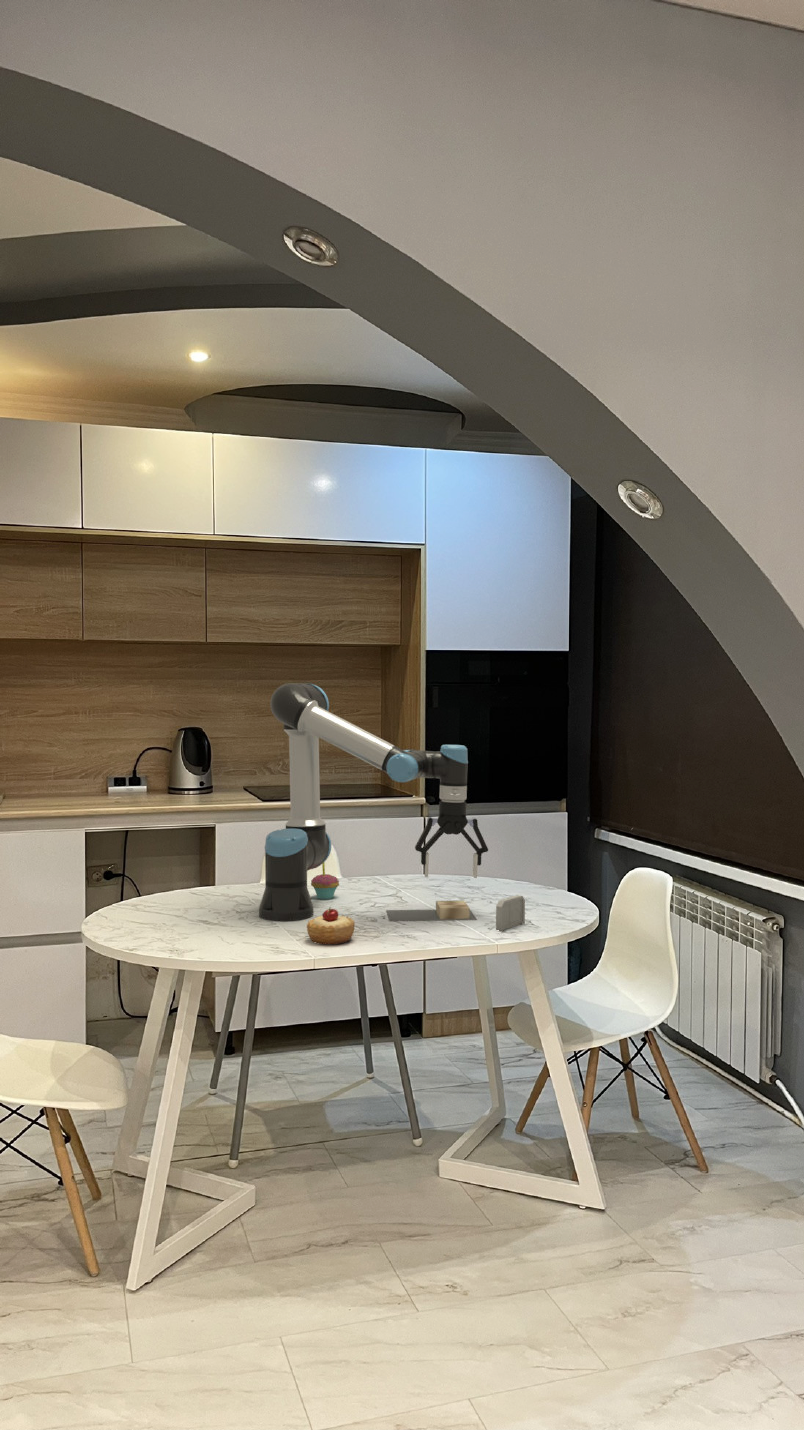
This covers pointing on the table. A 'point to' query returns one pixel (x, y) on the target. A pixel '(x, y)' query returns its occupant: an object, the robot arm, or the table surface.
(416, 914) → the mat
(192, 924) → the table surface
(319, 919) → the pastry
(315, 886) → the cupcake
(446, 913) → the tan and green block
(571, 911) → the table surface
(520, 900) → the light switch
